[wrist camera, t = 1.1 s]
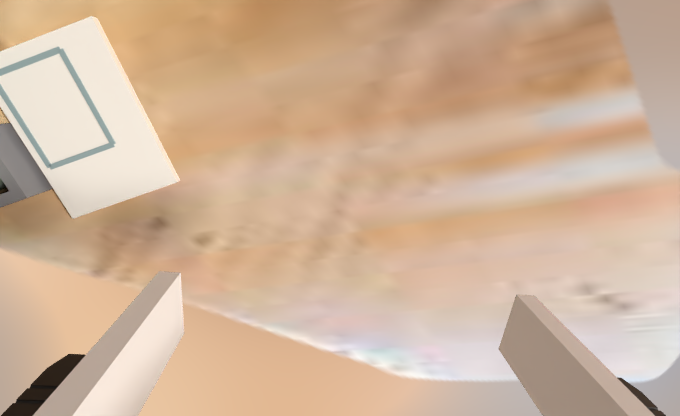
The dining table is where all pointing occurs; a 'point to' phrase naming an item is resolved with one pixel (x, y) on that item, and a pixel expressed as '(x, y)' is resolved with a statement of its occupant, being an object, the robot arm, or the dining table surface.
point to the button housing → (18, 168)
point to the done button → (2, 185)
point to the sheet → (82, 118)
